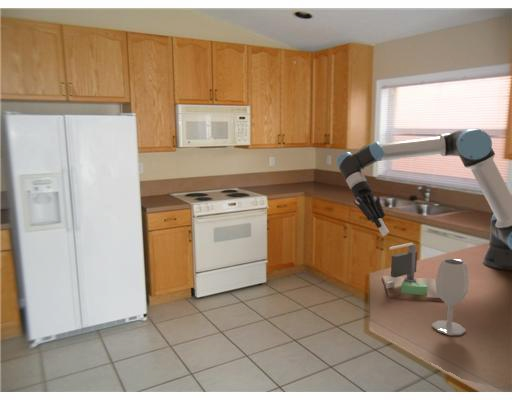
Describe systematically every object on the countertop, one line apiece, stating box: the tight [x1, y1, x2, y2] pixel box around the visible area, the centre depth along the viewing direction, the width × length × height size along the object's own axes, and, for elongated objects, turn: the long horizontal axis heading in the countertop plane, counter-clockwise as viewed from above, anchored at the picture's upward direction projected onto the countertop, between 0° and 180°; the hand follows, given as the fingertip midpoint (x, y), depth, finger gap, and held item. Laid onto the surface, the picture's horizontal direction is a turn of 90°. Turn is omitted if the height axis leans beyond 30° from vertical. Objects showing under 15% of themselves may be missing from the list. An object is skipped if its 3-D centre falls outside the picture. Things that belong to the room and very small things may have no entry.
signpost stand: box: [389, 242, 418, 283], centre depth 154 cm, size 14×4×15 cm, turn 121°
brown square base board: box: [382, 275, 443, 302], centre depth 153 cm, size 19×20×1 cm
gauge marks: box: [385, 281, 428, 295], centre depth 149 cm, size 14×5×3 cm, turn 61°
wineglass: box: [431, 258, 470, 337], centre depth 120 cm, size 9×9×21 cm
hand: (385, 234), depth 161 cm, fingers closed
